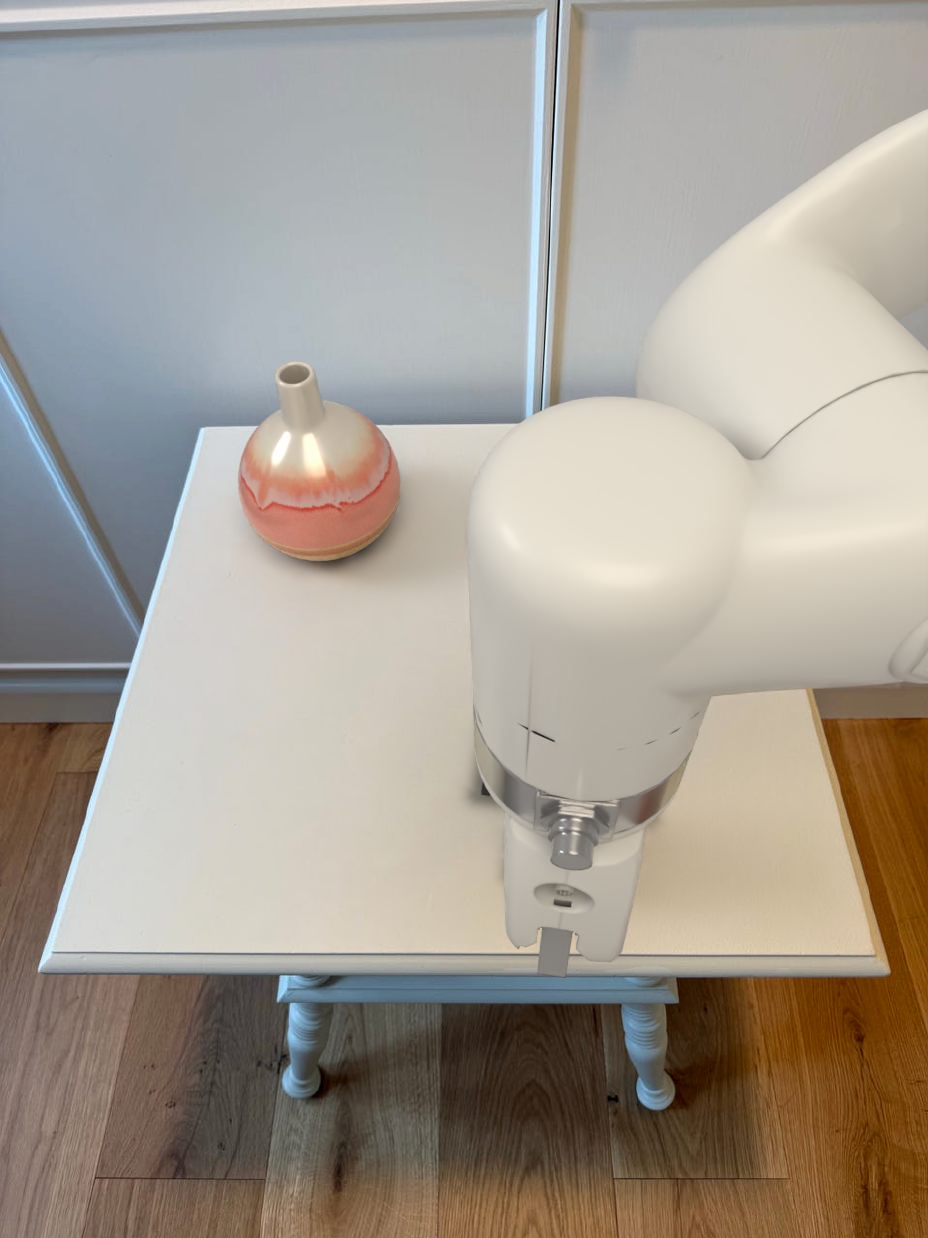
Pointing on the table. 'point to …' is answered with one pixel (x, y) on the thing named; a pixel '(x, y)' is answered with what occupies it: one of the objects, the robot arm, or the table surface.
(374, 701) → the table surface
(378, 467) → the vase
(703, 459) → the robot arm
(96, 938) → the table surface
